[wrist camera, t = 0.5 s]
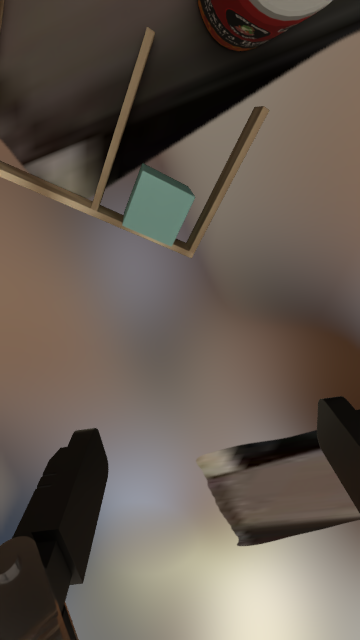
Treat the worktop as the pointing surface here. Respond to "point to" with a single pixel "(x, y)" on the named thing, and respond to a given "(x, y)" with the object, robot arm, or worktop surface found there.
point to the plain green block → (157, 205)
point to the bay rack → (94, 207)
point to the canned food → (254, 19)
